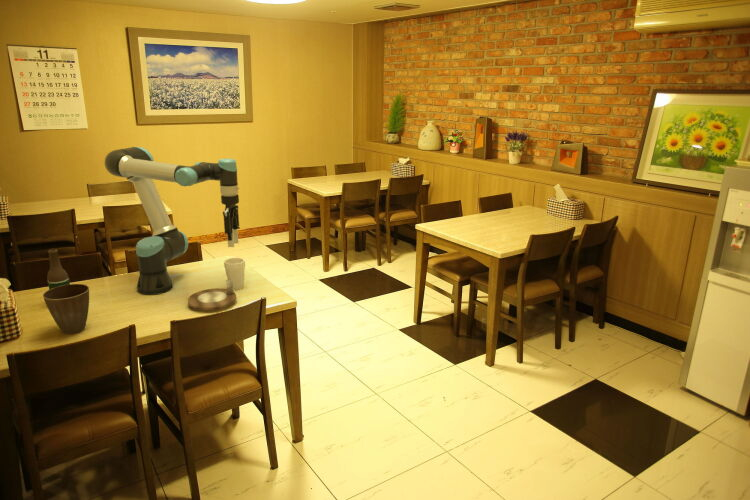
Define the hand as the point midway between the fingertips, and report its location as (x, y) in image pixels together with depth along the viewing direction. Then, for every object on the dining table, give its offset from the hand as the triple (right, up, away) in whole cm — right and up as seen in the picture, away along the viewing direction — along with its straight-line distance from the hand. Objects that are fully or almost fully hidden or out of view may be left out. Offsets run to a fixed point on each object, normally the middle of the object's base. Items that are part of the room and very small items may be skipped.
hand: (233, 244), depth 232 cm
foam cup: (0, -20, +6) cm, 21 cm away
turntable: (-6, -24, -12) cm, 27 cm away
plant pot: (-51, -33, -37) cm, 71 cm away
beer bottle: (-69, -25, -14) cm, 75 cm away
